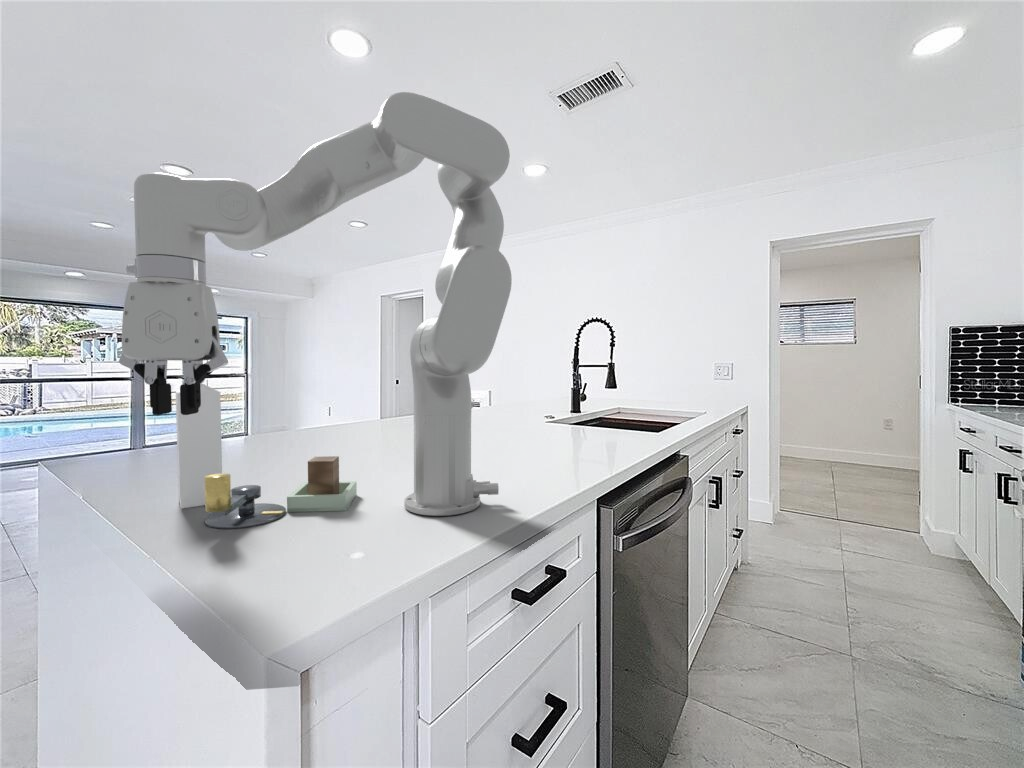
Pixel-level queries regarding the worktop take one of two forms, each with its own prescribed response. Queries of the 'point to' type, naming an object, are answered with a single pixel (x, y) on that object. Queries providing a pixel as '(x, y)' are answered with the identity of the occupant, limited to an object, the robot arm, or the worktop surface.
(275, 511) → the crank base
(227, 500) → the crank
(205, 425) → the milk
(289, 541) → the worktop surface
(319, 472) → the block
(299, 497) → the tray
